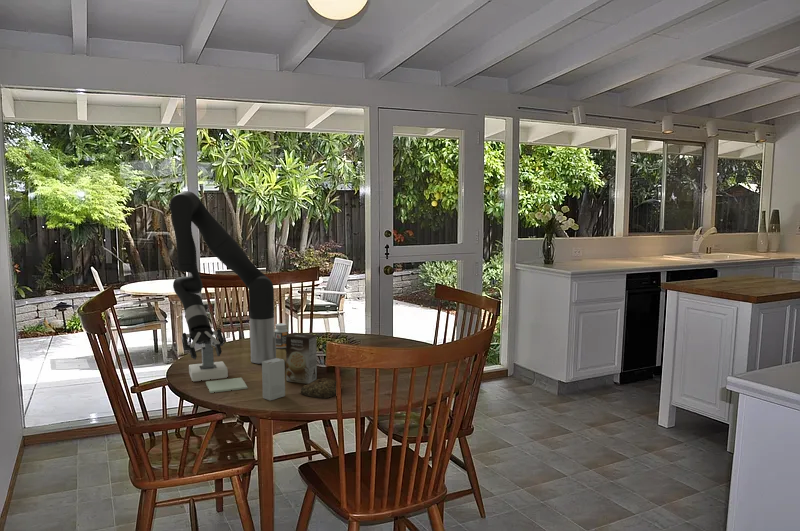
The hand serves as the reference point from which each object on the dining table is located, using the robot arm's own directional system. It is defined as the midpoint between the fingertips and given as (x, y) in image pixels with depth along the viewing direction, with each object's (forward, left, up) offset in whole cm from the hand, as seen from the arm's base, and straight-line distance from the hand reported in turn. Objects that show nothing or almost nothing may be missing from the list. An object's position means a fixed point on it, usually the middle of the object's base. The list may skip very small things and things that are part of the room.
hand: (207, 356), depth 218 cm
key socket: (0, 0, -7) cm, 7 cm away
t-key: (0, 0, -7) cm, 7 cm away
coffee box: (-29, +20, -7) cm, 36 cm away
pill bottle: (-34, -32, -7) cm, 47 cm away
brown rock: (-32, +35, -7) cm, 48 cm away
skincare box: (-16, +35, -7) cm, 39 cm away
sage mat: (-4, +16, -7) cm, 18 cm away
